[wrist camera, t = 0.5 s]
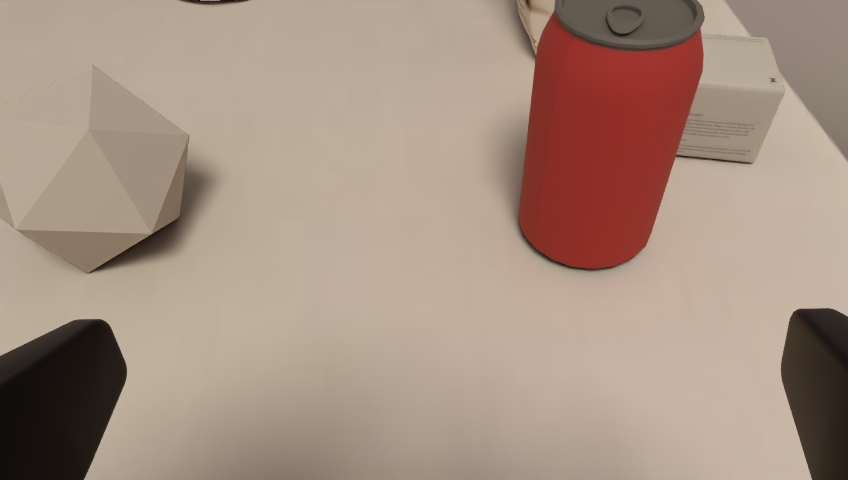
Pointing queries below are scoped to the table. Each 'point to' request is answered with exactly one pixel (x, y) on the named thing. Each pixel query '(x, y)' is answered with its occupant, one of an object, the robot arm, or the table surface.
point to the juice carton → (535, 17)
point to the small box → (733, 99)
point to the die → (88, 168)
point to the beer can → (606, 124)
